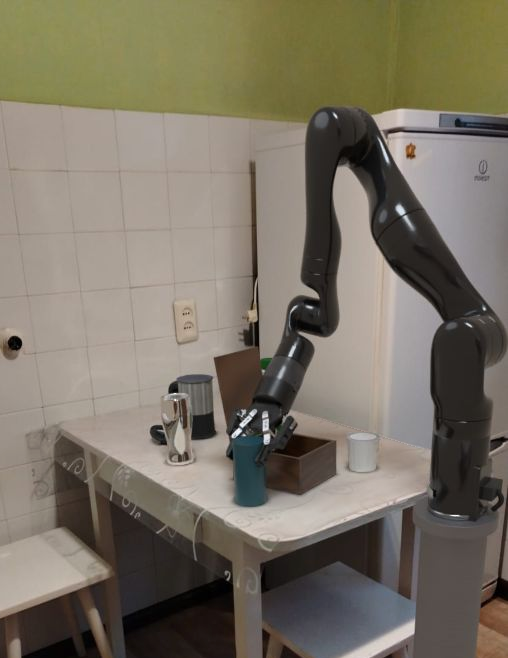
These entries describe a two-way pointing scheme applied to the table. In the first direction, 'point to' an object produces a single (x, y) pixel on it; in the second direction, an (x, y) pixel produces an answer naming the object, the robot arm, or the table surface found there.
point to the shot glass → (362, 451)
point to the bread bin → (300, 464)
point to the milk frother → (194, 405)
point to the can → (248, 472)
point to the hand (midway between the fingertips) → (243, 461)
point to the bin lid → (238, 379)
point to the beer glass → (177, 427)
